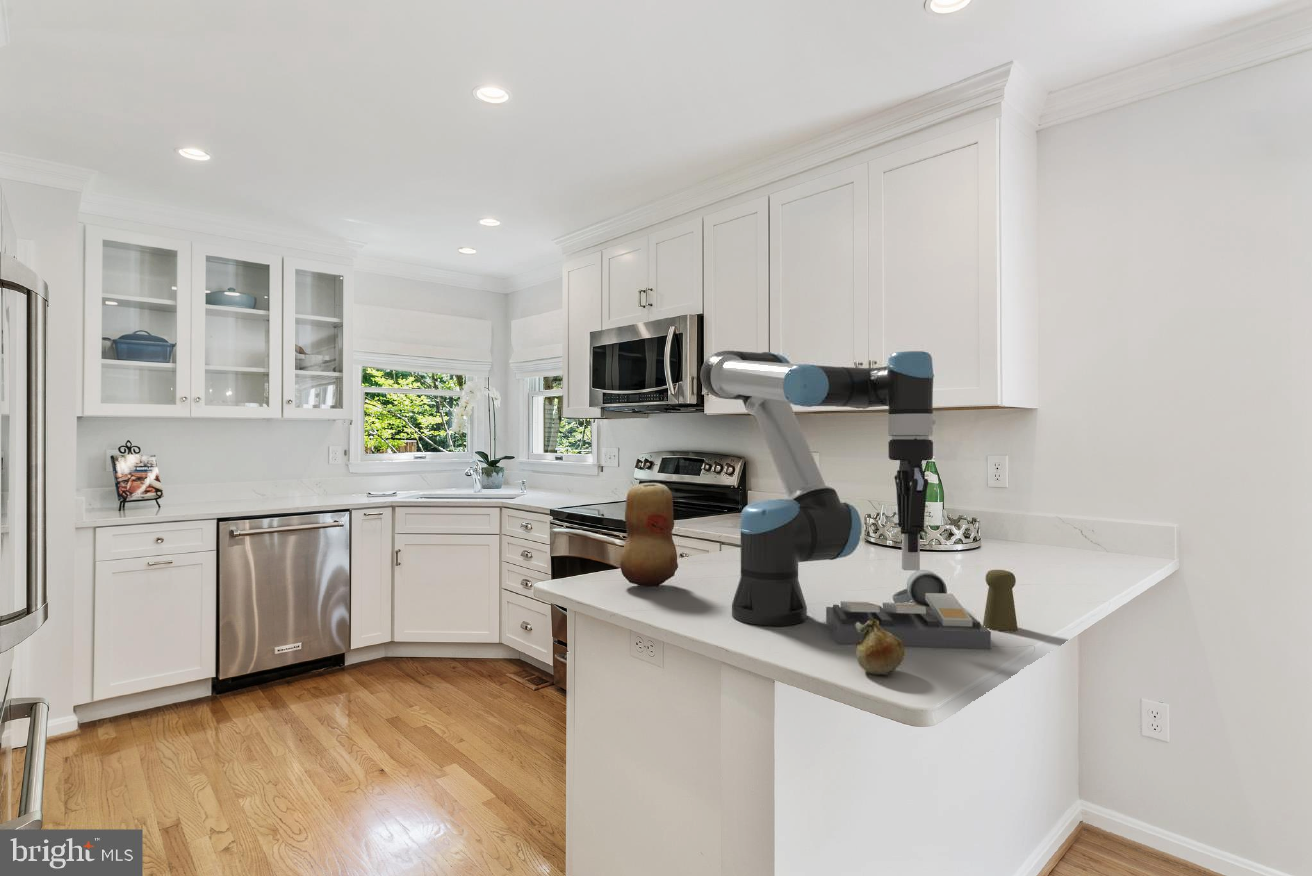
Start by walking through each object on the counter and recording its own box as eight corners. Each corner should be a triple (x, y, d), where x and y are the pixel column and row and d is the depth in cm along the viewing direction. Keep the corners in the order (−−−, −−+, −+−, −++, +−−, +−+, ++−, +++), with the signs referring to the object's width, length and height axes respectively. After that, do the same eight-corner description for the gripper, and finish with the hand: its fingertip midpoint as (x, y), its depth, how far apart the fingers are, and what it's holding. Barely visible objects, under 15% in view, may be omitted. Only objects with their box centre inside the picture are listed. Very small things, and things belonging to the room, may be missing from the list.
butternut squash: (631, 595, 156) (630, 485, 156) (613, 583, 169) (612, 482, 169) (686, 589, 161) (685, 483, 161) (666, 579, 174) (665, 481, 174)
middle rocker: (896, 612, 122) (896, 605, 122) (882, 608, 132) (882, 602, 133) (925, 613, 121) (925, 606, 121) (909, 609, 132) (908, 602, 132)
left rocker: (850, 611, 122) (850, 604, 123) (840, 607, 133) (840, 600, 133) (879, 612, 122) (879, 605, 122) (866, 608, 133) (866, 601, 133)
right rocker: (942, 625, 121) (943, 618, 121) (925, 598, 132) (925, 592, 132) (972, 626, 121) (972, 619, 120) (951, 599, 131) (952, 593, 131)
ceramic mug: (940, 600, 152) (939, 566, 152) (947, 610, 144) (947, 574, 144) (890, 599, 155) (889, 565, 154) (894, 608, 147) (894, 572, 146)
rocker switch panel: (837, 644, 121) (838, 621, 121) (826, 621, 135) (826, 601, 135) (990, 648, 119) (990, 626, 119) (962, 626, 133) (962, 605, 133)
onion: (851, 678, 105) (852, 626, 104) (855, 662, 112) (855, 613, 112) (904, 685, 102) (904, 631, 102) (904, 667, 109) (905, 618, 109)
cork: (1004, 633, 128) (1004, 574, 128) (975, 625, 133) (976, 569, 133) (1024, 629, 131) (1025, 571, 131) (996, 621, 136) (996, 566, 136)
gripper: (943, 438, 116) (944, 577, 116) (921, 438, 129) (921, 563, 129) (898, 438, 116) (898, 576, 116) (880, 438, 129) (881, 562, 129)
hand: (910, 569), depth 123 cm, fingers closed
